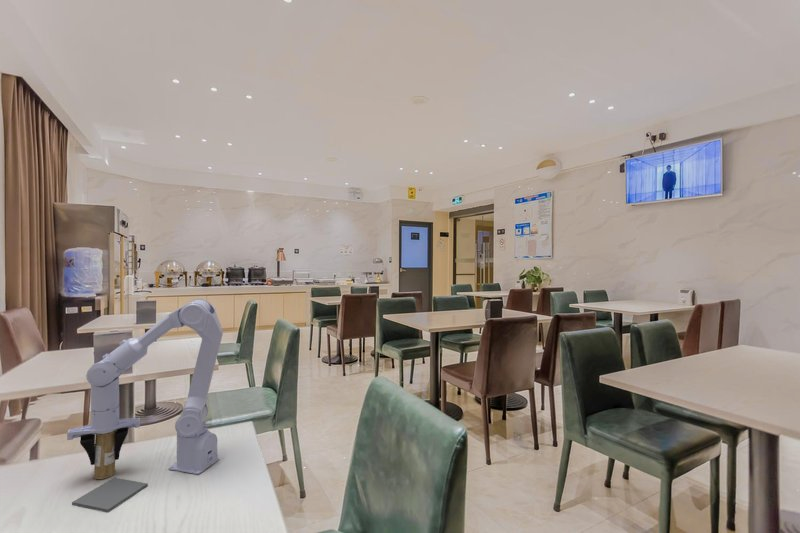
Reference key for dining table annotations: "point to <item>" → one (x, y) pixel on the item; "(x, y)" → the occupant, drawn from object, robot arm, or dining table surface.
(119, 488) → the coaster
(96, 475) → the sprinkles bottle
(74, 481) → the dining table surface
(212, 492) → the dining table surface
